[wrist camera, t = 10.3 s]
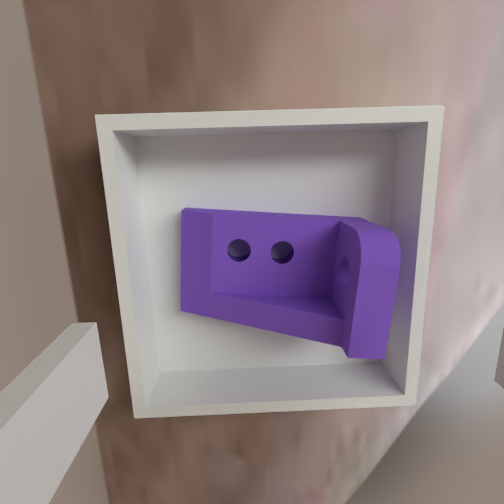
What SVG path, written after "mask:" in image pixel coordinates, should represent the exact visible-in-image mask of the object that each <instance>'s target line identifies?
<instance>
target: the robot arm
mask: <svg viewBox="0 0 504 504" xmlns="http://www.w3.org/2000/svg"><path fill="white" fill-rule="evenodd" d="M495 382H497V383H498V384H499V385H500V386H501V387H502V388H503V389H504V330H503V335H502V341H501V346H500V352H499V357H498V363H497V368H496V374H495ZM108 397H109V396H108V390H107V384H106V378H105V372H104V366H103V359H102V353H101V347H100V341H99V335H98V329H97V323H96V322H90V323H72V324H71V325H70V326H68V327H67V328H66V329H65V330H64V331H63V332H62V333H61V334H60V335H59V336H58V337H57V338H56V339H55V340H54V341H53V342H52V343H51V344H50V345H49V346H48V347H47V348H46V349H45V350H44V351H43V352H42V353H41V354H40V355H38V356H37V357H36V358H35V359H34V360H33V361H32V362H31V363H30V364H29V365H28V366H27V367H26V368H25V369H24V370H23V371H22V372H21V373H20V374H19V375H18V376H17V377H16V378H15V379H14V380H13V381H12V382H11V383H10V384H8V385H7V387H5V388H4V389H3V390H2V391H1V392H0V504H49V503H50V501H51V499H52V497H53V495H54V494H55V492H56V490H57V488H58V486H59V485H60V483H61V481H62V479H63V477H64V476H65V474H66V472H67V470H68V469H69V467H70V465H71V463H72V461H73V460H74V458H75V456H76V454H77V453H78V450H79V449H80V447H81V445H82V444H83V442H84V440H85V438H86V437H87V435H88V433H89V431H90V429H91V428H92V426H93V424H94V422H95V421H96V419H97V417H98V415H99V413H100V412H101V410H102V408H103V406H104V404H105V403H106V401H107V399H108Z"/></svg>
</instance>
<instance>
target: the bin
mask: <svg viewBox="0 0 504 504" xmlns="http://www.w3.org/2000/svg"><path fill="white" fill-rule="evenodd" d="M443 115H444V105H436V106H399V107H363V108H326V109H289V110H252V111H216V112H179V113H142V114H105V115H95V120H96V128H97V135H98V143H99V151H100V159H101V166H102V174H103V182H104V189H105V197H106V205H107V213H108V220H109V228H110V236H111V243H112V251H113V259H114V267H115V274H116V282H117V290H118V297H119V305H120V313H121V321H122V328H123V336H124V344H125V351H126V359H127V367H128V375H129V382H130V390H131V398H132V405H133V413H134V418H154V417H175V416H197V415H218V414H239V413H261V412H282V411H303V410H325V409H346V408H367V407H388V406H410V405H416V398H417V388H418V377H419V367H420V356H421V346H422V335H423V325H424V314H425V304H426V294H427V283H428V273H429V262H430V252H431V241H432V231H433V220H434V210H435V199H436V189H437V178H438V168H439V157H440V147H441V136H442V126H443ZM184 208H203V209H221V210H238V211H256V212H274V213H292V214H309V215H327V216H345V217H360V218H362V219H365V220H367V221H370V222H372V223H375V224H377V225H379V226H382V227H384V228H387V229H389V230H391V231H393V232H394V233H395V235H396V236H397V238H398V241H399V245H400V251H401V264H400V271H399V277H398V283H397V289H396V295H395V301H394V307H393V313H392V319H391V325H390V331H389V337H388V343H387V349H386V355H385V359H361V358H347V356H346V354H345V352H344V351H343V349H342V347H339V346H334V345H330V344H326V343H321V342H317V341H312V340H308V339H303V338H299V337H294V336H290V335H286V334H281V333H277V332H272V331H268V330H263V329H259V328H255V327H250V326H246V325H241V324H237V323H232V322H228V321H223V320H219V319H215V318H210V317H206V316H201V315H197V314H192V313H188V312H183V311H180V290H181V210H182V209H184ZM291 250H292V245H291V244H290V243H288V242H285V241H280V242H277V243H275V244H274V245H273V247H272V248H271V257H272V258H275V259H281V258H284V257H286V256H287V255H288V254H289V253H290V252H291ZM227 251H228V252H229V253H230V254H231V255H233V256H236V257H242V256H245V255H247V254H249V253H250V252H251V248H250V245H249V244H248V242H246V241H245V240H243V239H235V240H233V241H232V242H230V244H229V245H228V248H227Z"/></svg>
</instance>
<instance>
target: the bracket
mask: <svg viewBox="0 0 504 504" xmlns="http://www.w3.org/2000/svg"><path fill="white" fill-rule="evenodd" d="M235 239H243V240H245V241H246V242H248V244H249V245H250V248H251V252H250V253H249V254H247V255H245V256H242V257H236V256H233V255H231V254H230V253H229V252H228V251H227V248H228V245H229V244H230V242H232V241H233V240H235ZM280 241H285V242H288V243H290V244H291V245H292V250H291V252H290V253H289V254H288V255H287V256H286V257H284V258H281V259H275V258H272V257H271V248H272V247H273V245H274V244H275V243H277V242H280ZM400 264H401V251H400V245H399V241H398V238H397V236H396V235H395V233H394V232H393V231H391V230H389V229H387V228H384V227H382V226H379V225H377V224H375V223H372V222H370V221H367V220H365V219H362V218H360V217H345V216H327V215H309V214H292V213H274V212H256V211H238V210H221V209H203V208H184V209H182V210H181V290H180V311H183V312H188V313H192V314H197V315H201V316H206V317H210V318H215V319H219V320H223V321H228V322H232V323H237V324H241V325H246V326H250V327H255V328H259V329H263V330H268V331H272V332H277V333H281V334H286V335H290V336H294V337H299V338H303V339H308V340H312V341H317V342H321V343H326V344H330V345H334V346H339V347H342V349H343V351H344V352H345V354H346V356H347V358H361V359H385V355H386V349H387V343H388V337H389V331H390V325H391V319H392V313H393V307H394V301H395V295H396V289H397V283H398V277H399V271H400Z"/></svg>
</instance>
